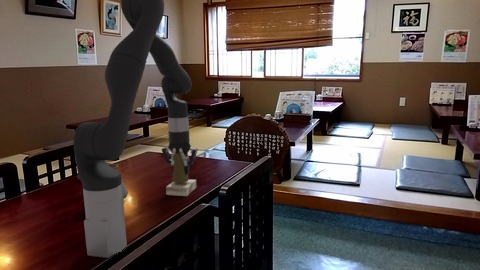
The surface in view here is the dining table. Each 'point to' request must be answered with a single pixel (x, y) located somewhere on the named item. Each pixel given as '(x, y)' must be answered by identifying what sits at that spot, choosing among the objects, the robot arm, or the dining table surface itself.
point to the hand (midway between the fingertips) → (180, 174)
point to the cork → (179, 169)
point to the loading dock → (181, 188)
